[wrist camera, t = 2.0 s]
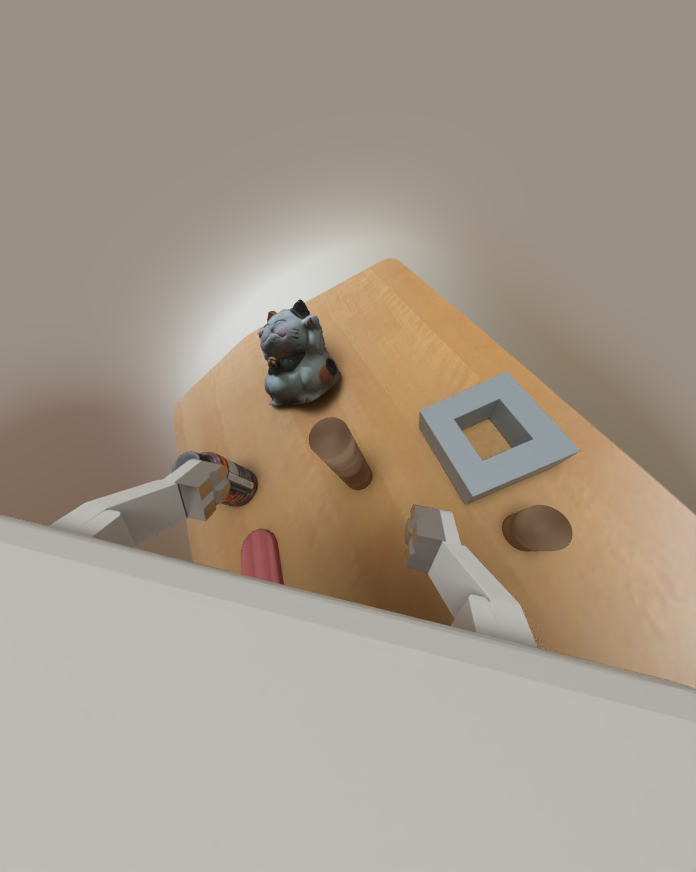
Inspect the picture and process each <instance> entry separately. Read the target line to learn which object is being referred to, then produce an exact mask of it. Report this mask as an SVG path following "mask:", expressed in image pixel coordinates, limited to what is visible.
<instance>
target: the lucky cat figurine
mask: <svg viewBox="0 0 696 872" xmlns="http://www.w3.org/2000/svg"><path fill="white" fill-rule="evenodd" d="M322 333H323V331H322V328H321V326H320V324H319V319H318V318H317V316H315V315H310V312H309V311H308V309H307V307H306V305H305V303H304V302H303V301H302V300H298V301H297V302H296V303H295V304H294V306H293V308H291V309H287V310H286V309H284V310H282V311H281V312H279V313H276V312H274V311H270V312H269V313H268V319H267V324H266V325H265V326H264V327H263V328H260V332H259V333H257V334H259V337H260V339H261V348H262V351H263V354H264V357H265V359H266V360H267V361H268V366H269V367H270V368H269V370H268V374H267V376H266V378H265V390H266V392H267V393H268V394H269V395H270V396H271V398H272V402H271V403H270V404H269V405H272V406H278V405H282V404H305V403H308V402H312V401H314V400H316V399H318V398H319V397H320V396H322V395H323V394H324V393H326V392H327V391H328V390H329V389H330V388H332V387H333V386H334V385H335V384H337V383H338V381H339V379H340V378H341V373H340V372H339V370H338V367H337V365H336V363H335V362H334V360H333V359H332V358H331V357H330V355H329V353H328V352H327V350H326V347H325V343H324V338H323V335H322Z"/></svg>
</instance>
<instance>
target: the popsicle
mask: <svg viewBox="0 0 696 872" xmlns="http://www.w3.org/2000/svg"><path fill="white" fill-rule="evenodd" d="M241 569H242V575H246V576H250V577H254V578H258V579H262V580H266V581H270V582H274V583H278V584H282V585H283V578H282V571H281V564H280V557H279V550H278V544H277V540H276V538H275V536H274V534H273V533H271V532H270V531H268V530H263V529H258V530H255V531H253V532H252V533H250V534H249V535H248V536H247V538H246V539H245V541H244V542H243V546H242V550H241Z"/></svg>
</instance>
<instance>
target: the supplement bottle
mask: <svg viewBox="0 0 696 872" xmlns="http://www.w3.org/2000/svg"><path fill="white" fill-rule="evenodd" d="M190 459H197V460H201V461H207V462H211V463H215V464H220V465H224V466H226V467H227V469H228V475H227V476H226V478H227V479H228V480H229V481H230V491H229V493H228V496H227V498H226V499H225V500H224V501H223V502H222V504H225V505H229V506H240V505H243V504H245V503H247V502H248V501H249V500H250V499H251V498H252V496H253V495H254V493H255V490H256V486H257V481H256V477H255V475H254V474H253V473H252V472H251V471H249V470H247V469H246V468H244V467H242V466H240V465H238V464H236V463H234V462H232V461H230V460H228V459H226V458H224V457H222V456H220V455H218V454H216V453H213V452H203V453H200V454H198V453H196V452H192V451H189V452H185V453H183V454H182V455H180V456H179V457H178V458H177V459H176V461H175V462H174V464H173V466H172V469H171V473H172V472H174V471H175V470H176V469H178V468H179V467H180V466H182V465H183V464H184V463H186V462H187V461H189V460H190Z"/></svg>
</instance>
